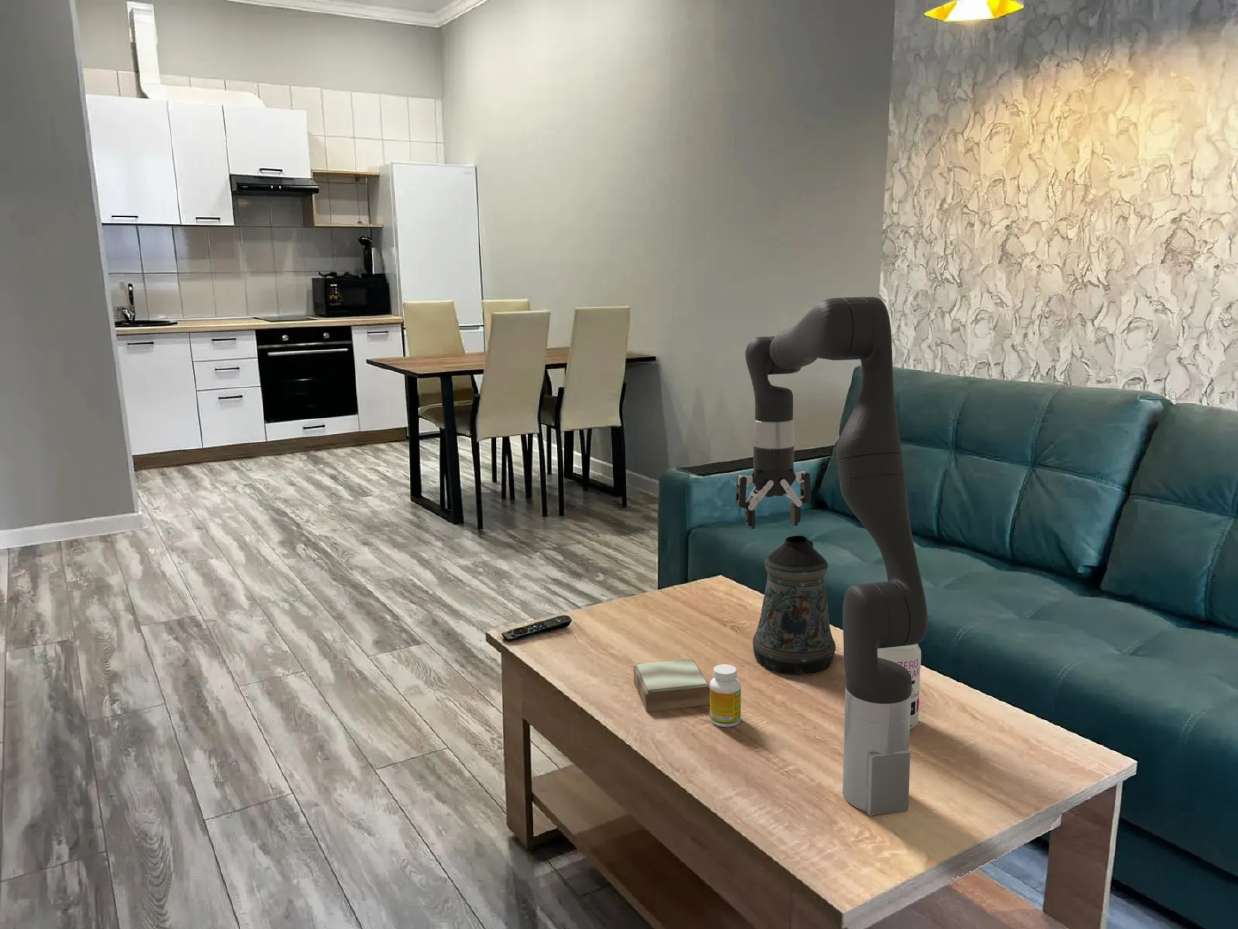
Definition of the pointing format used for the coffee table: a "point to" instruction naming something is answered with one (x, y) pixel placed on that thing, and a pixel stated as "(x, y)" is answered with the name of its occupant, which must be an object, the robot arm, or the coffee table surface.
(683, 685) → the plinth
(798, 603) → the painted ceramic vase
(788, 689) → the coffee table surface
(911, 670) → the supplement can
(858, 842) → the coffee table surface
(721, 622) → the coffee table surface
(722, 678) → the supplement bottle
